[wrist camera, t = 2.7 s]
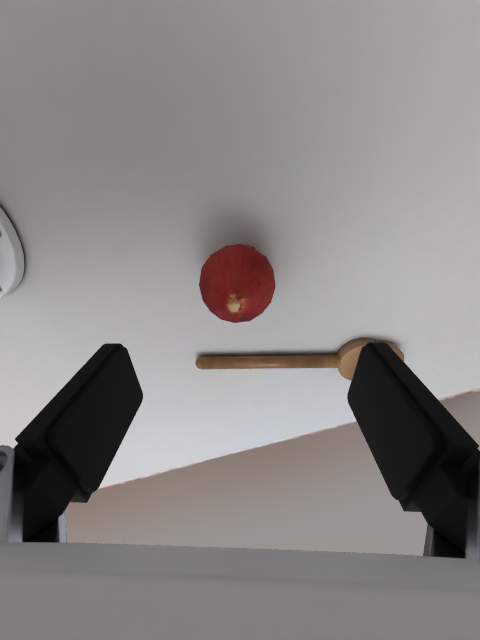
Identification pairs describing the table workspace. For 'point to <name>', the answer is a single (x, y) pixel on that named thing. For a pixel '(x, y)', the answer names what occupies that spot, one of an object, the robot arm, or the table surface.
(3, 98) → the table surface
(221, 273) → the onion
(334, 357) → the spoon
